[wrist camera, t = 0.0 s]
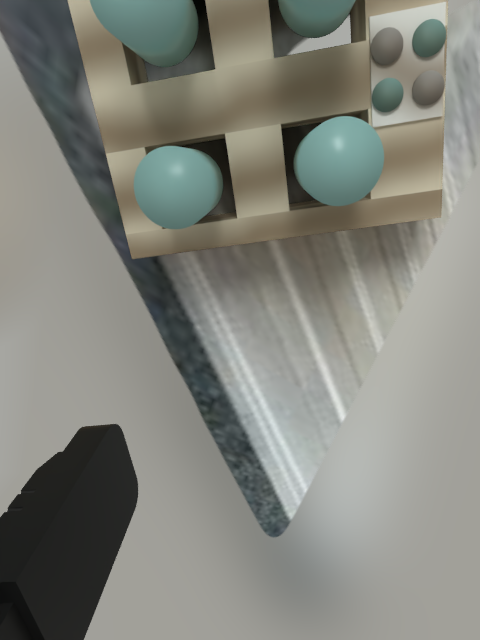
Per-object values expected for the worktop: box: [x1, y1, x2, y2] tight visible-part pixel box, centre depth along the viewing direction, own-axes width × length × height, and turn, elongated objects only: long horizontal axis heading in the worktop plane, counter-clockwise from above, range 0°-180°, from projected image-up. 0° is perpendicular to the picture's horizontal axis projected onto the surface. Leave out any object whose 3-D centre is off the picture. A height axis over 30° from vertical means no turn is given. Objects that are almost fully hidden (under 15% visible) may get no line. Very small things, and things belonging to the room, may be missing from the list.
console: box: [68, 0, 448, 259], centre depth 30 cm, size 20×24×5 cm
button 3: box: [294, 116, 384, 206], centre depth 26 cm, size 5×5×6 cm
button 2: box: [90, 0, 198, 67], centre depth 23 cm, size 5×5×6 cm
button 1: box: [134, 146, 223, 229], centre depth 27 cm, size 5×5×6 cm
